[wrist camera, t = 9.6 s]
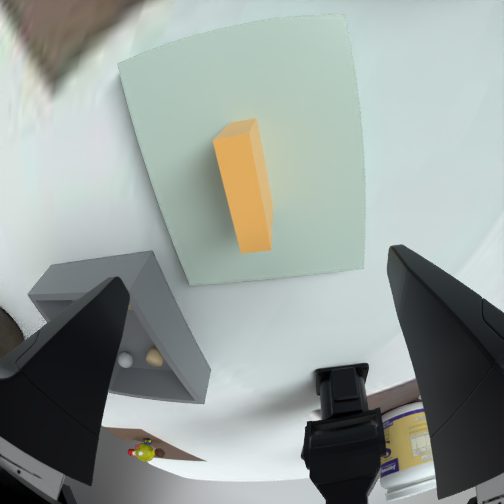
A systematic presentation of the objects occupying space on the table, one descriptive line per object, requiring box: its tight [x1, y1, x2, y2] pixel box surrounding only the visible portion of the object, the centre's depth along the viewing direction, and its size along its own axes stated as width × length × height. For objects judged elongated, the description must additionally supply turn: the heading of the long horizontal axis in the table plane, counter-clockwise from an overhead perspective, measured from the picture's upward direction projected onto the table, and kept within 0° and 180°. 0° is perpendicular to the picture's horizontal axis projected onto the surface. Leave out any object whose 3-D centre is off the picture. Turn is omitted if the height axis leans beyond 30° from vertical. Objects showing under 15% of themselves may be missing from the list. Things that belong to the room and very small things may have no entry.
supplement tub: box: [380, 402, 437, 501], centre depth 34 cm, size 12×12×17 cm
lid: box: [117, 14, 365, 286], centre depth 16 cm, size 18×14×7 cm
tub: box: [28, 251, 211, 404], centre depth 28 cm, size 18×14×5 cm
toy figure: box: [128, 439, 165, 461], centre depth 57 cm, size 18×6×7 cm, turn 133°
